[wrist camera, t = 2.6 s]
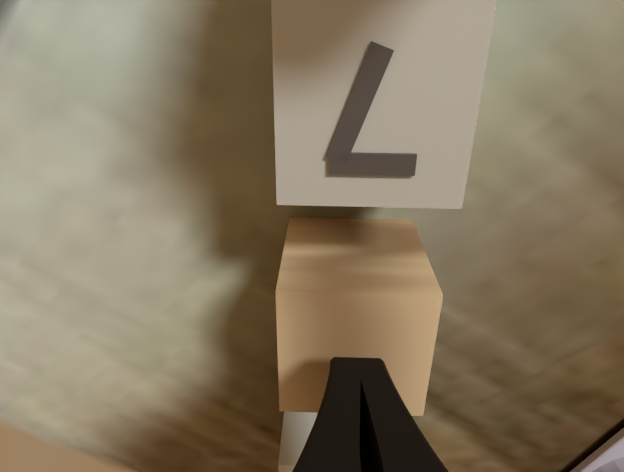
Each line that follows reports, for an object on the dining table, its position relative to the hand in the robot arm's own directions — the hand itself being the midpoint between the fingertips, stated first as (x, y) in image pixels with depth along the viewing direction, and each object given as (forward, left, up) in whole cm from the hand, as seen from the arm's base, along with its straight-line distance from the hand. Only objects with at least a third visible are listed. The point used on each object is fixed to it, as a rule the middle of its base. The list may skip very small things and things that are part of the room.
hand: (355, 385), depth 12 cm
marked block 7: (+3, -6, -6) cm, 9 cm away
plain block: (0, 0, -6) cm, 6 cm away
